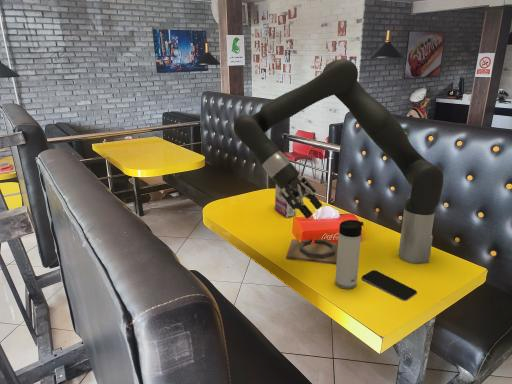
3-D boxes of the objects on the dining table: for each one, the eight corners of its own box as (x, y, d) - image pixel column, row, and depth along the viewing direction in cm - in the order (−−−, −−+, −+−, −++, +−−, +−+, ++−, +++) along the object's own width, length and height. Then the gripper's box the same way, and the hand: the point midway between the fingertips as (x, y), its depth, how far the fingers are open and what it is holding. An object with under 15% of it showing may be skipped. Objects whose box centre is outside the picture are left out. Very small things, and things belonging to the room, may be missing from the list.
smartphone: (404, 301, 102) (359, 277, 113) (404, 304, 103) (359, 280, 113) (418, 291, 106) (374, 269, 117) (418, 294, 107) (373, 272, 118)
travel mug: (358, 290, 107) (364, 227, 101) (335, 288, 109) (339, 225, 102) (357, 279, 113) (362, 218, 107) (335, 277, 114) (339, 217, 108)
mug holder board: (346, 246, 134) (347, 240, 133) (346, 265, 121) (347, 258, 120) (291, 241, 138) (291, 235, 138) (285, 258, 125) (286, 252, 125)
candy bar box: (295, 216, 162) (297, 180, 157) (285, 218, 160) (286, 182, 155) (284, 208, 172) (285, 174, 167) (274, 209, 170) (275, 175, 165)
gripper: (278, 167, 103) (316, 213, 101) (298, 157, 115) (331, 197, 113) (261, 183, 107) (297, 227, 105) (282, 171, 119) (314, 211, 117)
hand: (315, 212), depth 109 cm, fingers open, 8 cm apart
